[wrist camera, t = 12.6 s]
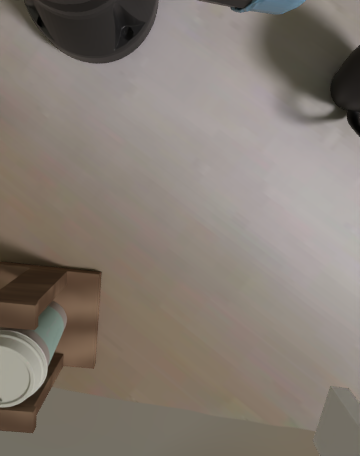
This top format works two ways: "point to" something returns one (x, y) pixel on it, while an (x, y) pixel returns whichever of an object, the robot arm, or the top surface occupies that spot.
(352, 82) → the mug
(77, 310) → the wooden stand
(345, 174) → the top surface
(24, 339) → the coffee cup
